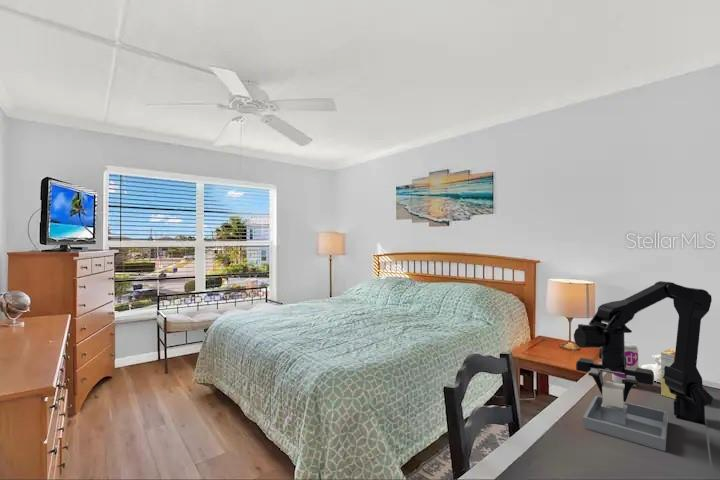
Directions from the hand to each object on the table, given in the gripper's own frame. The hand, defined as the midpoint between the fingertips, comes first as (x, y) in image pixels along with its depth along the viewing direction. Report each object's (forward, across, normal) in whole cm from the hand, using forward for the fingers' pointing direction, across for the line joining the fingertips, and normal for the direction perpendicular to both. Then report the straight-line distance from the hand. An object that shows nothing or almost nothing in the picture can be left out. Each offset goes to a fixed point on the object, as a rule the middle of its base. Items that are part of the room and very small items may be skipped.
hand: (614, 398), depth 107 cm
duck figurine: (+7, -9, -49) cm, 50 cm away
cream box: (+1, 0, 0) cm, 1 cm away
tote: (+6, -3, +2) cm, 7 cm away
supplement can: (+7, +1, -38) cm, 39 cm away
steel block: (+6, 0, 0) cm, 6 cm away
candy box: (+7, -13, -36) cm, 39 cm away
